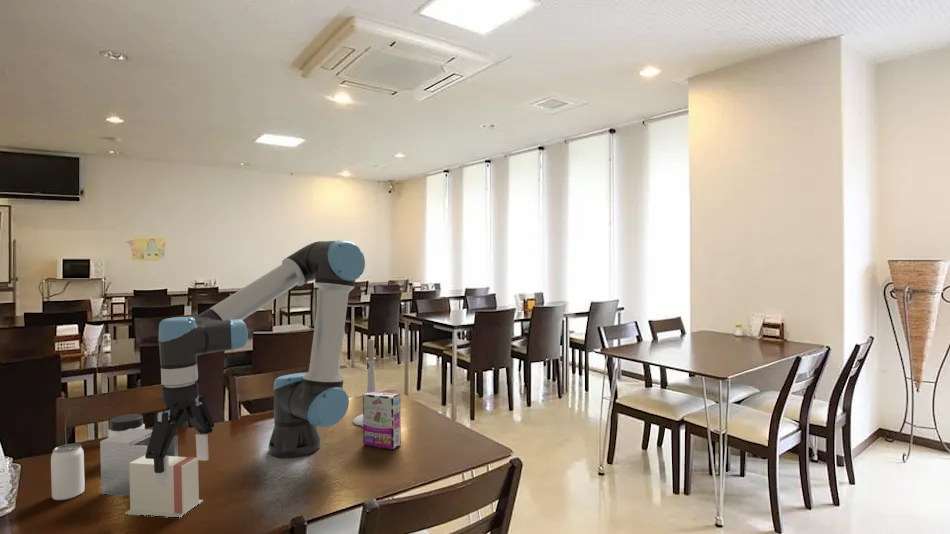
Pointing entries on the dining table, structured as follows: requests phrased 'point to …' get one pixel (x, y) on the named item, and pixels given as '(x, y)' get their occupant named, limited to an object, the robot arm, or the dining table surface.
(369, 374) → the candlestick
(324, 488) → the dining table surface
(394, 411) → the candy bar box
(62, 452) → the can
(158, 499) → the pink-banded white block
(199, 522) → the dining table surface
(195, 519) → the dining table surface
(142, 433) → the dispenser
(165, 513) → the pad
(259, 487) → the dining table surface
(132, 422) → the jar
